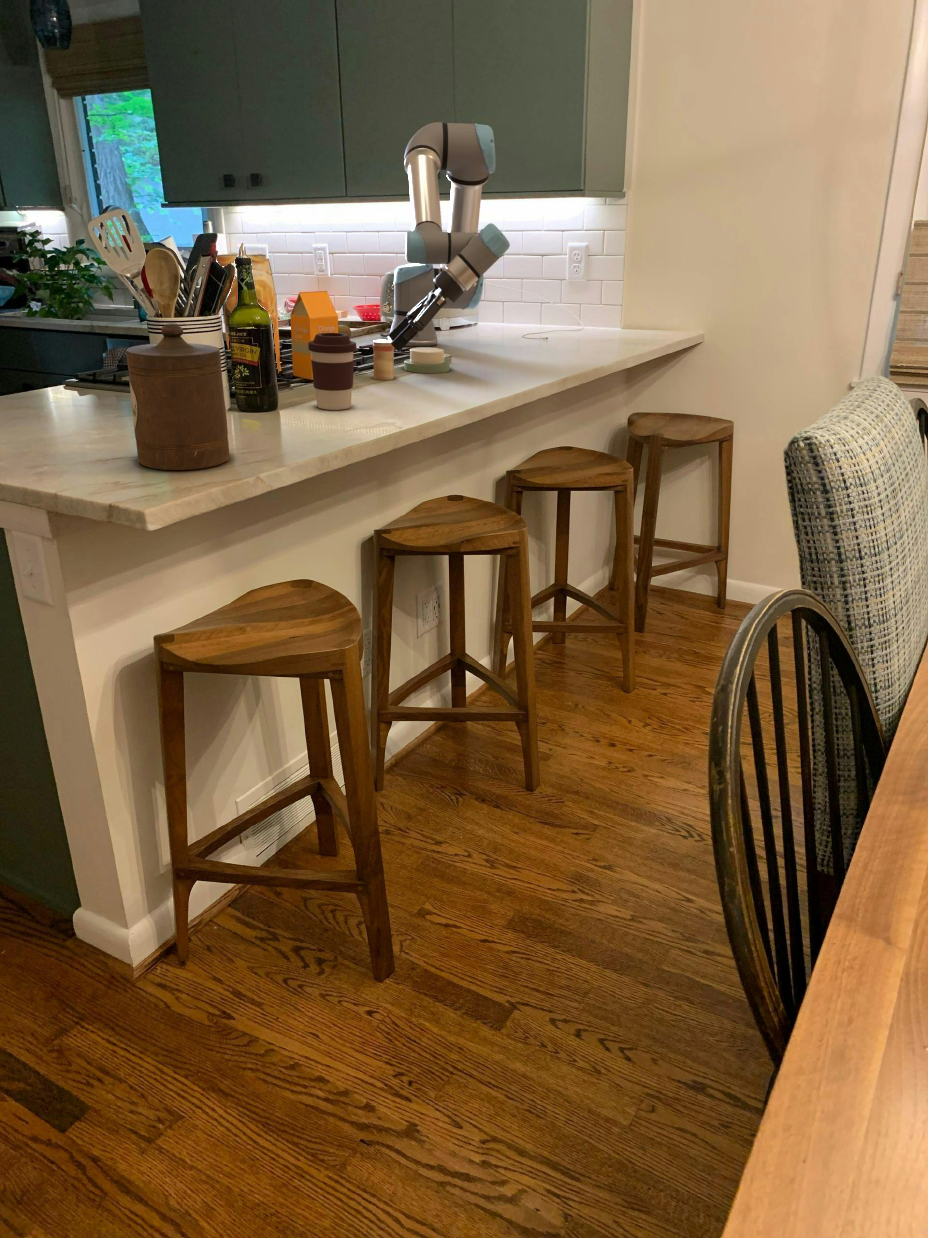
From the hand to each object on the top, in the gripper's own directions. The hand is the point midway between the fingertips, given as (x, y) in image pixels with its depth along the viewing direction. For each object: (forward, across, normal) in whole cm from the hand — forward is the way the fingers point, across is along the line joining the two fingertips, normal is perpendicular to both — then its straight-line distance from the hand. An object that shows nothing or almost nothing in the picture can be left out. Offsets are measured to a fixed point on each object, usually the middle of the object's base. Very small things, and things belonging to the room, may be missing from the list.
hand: (392, 343), depth 230 cm
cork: (+15, +12, +3) cm, 19 cm away
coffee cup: (+16, -36, +4) cm, 39 cm away
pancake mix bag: (+31, +3, +18) cm, 36 cm away
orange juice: (+20, +2, +7) cm, 21 cm away
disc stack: (-1, +14, -13) cm, 19 cm away
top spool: (+8, 0, -4) cm, 9 cm away
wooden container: (+34, -79, +22) cm, 89 cm away
